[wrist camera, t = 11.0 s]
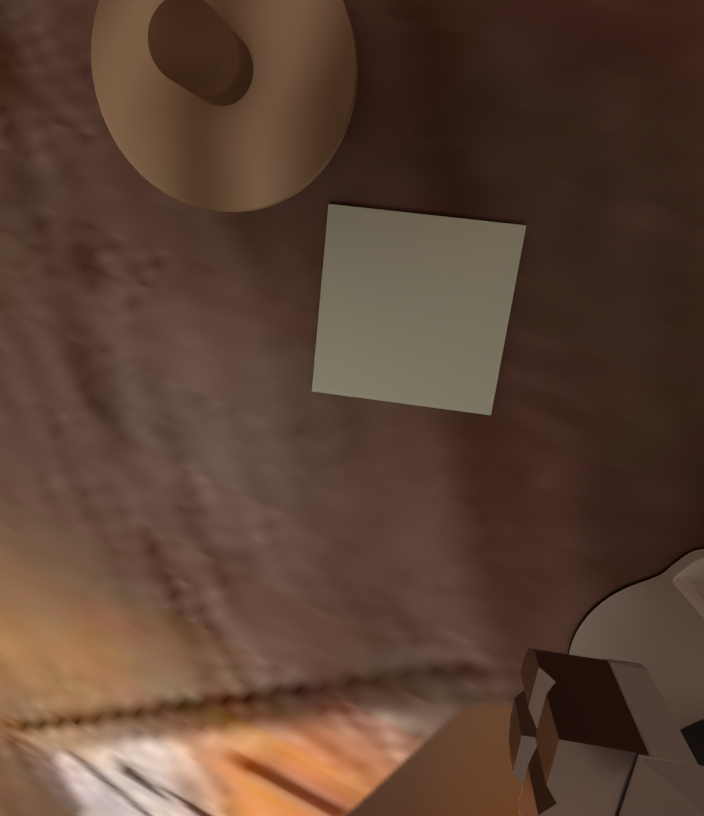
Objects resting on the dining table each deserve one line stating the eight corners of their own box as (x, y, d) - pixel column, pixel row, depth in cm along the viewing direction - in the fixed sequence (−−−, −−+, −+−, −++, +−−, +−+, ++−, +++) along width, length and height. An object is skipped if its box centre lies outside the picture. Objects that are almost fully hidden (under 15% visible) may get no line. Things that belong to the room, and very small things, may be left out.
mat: (524, 225, 35) (526, 225, 35) (489, 412, 39) (490, 415, 38) (329, 204, 36) (328, 203, 36) (313, 389, 40) (311, 391, 39)
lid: (372, -70, 25) (360, -146, 20) (343, 225, 28) (327, 223, 23) (101, -90, 26) (26, -167, 21) (106, 198, 29) (43, 191, 24)
